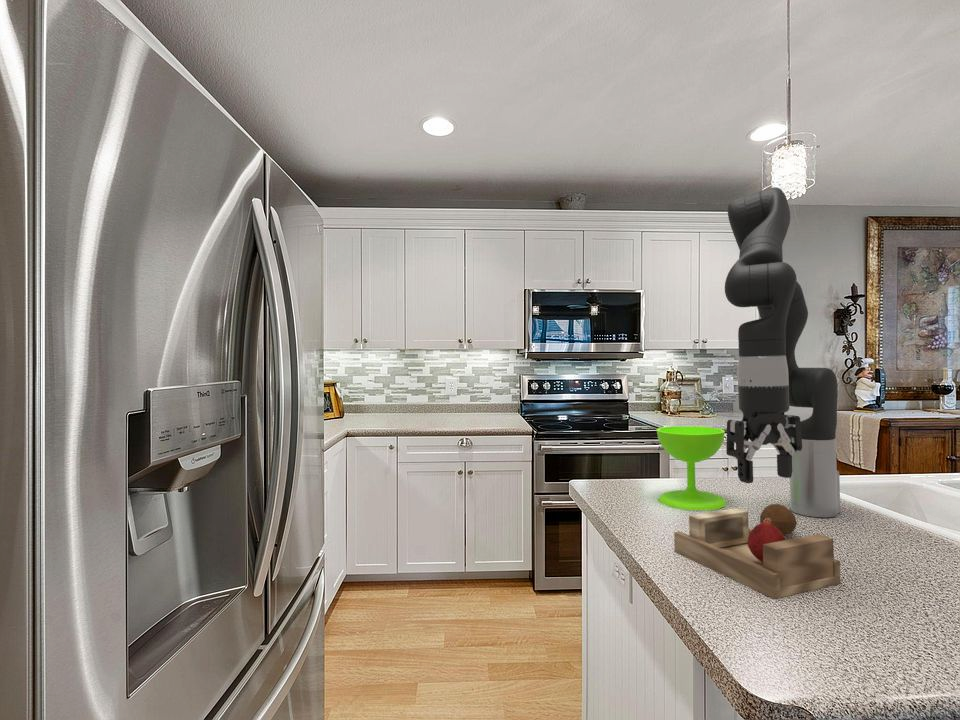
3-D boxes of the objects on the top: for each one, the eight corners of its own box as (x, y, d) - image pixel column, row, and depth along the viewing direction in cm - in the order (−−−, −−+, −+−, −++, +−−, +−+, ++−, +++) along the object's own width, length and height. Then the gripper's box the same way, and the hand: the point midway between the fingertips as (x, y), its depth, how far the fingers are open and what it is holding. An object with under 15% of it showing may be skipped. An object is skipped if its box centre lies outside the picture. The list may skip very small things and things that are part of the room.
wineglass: (697, 514, 124) (695, 436, 124) (644, 499, 138) (643, 429, 138) (740, 503, 132) (738, 430, 132) (686, 490, 146) (684, 424, 146)
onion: (754, 571, 88) (752, 522, 88) (744, 558, 93) (743, 512, 93) (793, 573, 87) (791, 524, 87) (780, 560, 92) (779, 513, 92)
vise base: (732, 540, 106) (731, 504, 106) (840, 583, 85) (839, 538, 85) (674, 551, 101) (673, 513, 101) (774, 598, 81) (772, 551, 81)
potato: (793, 529, 112) (792, 499, 112) (800, 544, 103) (800, 512, 103) (758, 526, 115) (757, 497, 115) (762, 541, 106) (761, 509, 106)
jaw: (738, 538, 103) (737, 508, 103) (749, 542, 101) (748, 511, 101) (689, 546, 99) (688, 515, 99) (699, 551, 97) (698, 519, 97)
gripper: (748, 386, 84) (752, 489, 84) (814, 381, 89) (817, 479, 89) (712, 384, 91) (715, 479, 91) (775, 380, 96) (778, 471, 96)
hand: (765, 479), depth 90 cm, fingers open, 8 cm apart
